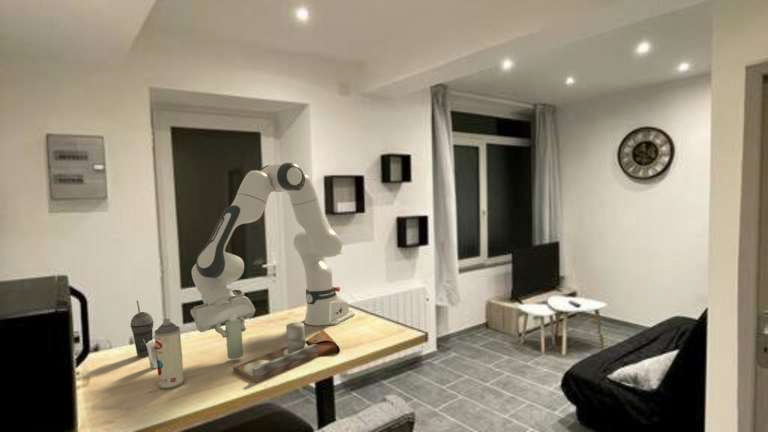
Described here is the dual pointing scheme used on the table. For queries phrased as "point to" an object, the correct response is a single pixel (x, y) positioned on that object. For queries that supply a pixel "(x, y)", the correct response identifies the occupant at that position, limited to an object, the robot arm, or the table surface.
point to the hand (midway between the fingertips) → (234, 333)
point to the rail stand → (280, 356)
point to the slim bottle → (234, 337)
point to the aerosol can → (169, 356)
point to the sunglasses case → (324, 344)
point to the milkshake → (152, 353)
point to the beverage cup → (142, 331)
